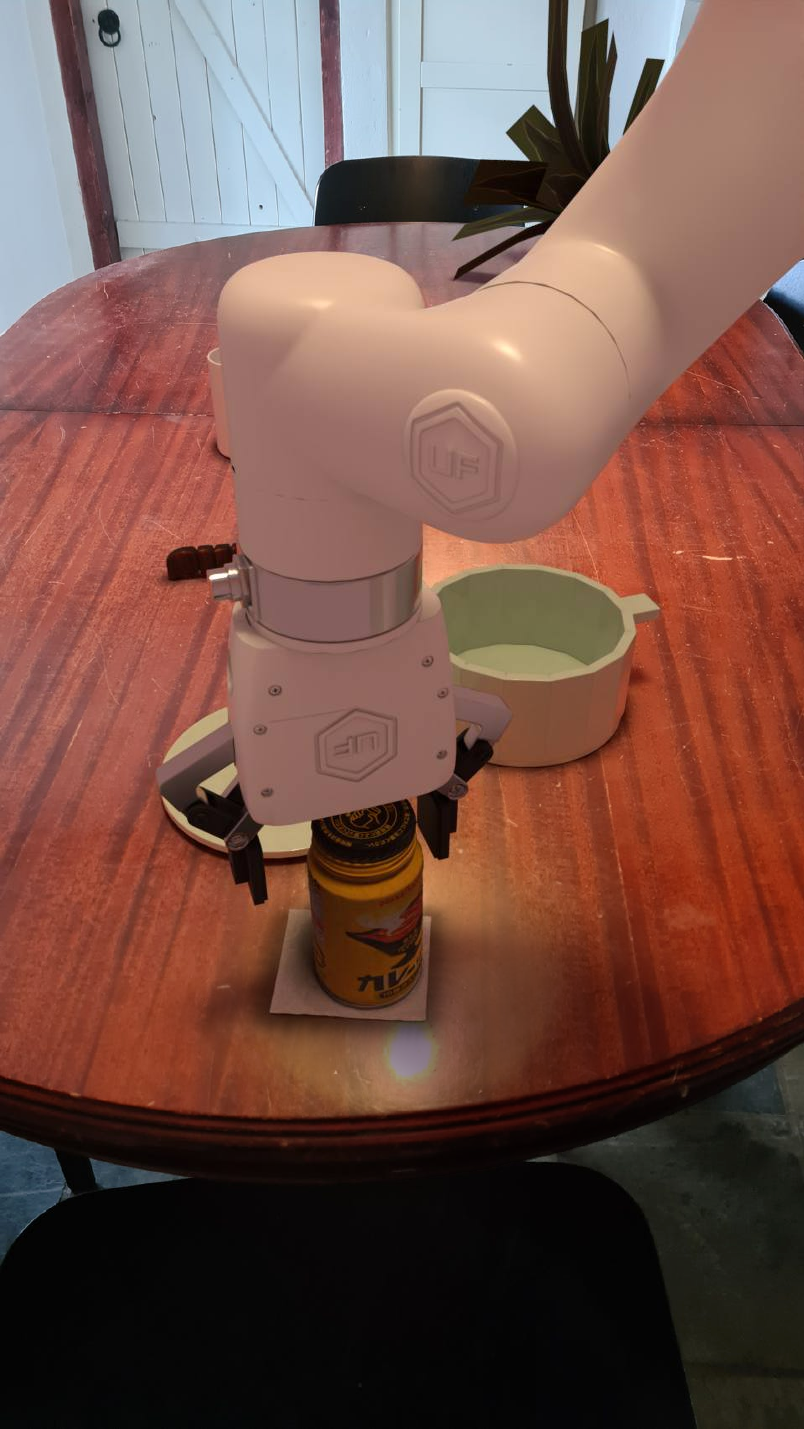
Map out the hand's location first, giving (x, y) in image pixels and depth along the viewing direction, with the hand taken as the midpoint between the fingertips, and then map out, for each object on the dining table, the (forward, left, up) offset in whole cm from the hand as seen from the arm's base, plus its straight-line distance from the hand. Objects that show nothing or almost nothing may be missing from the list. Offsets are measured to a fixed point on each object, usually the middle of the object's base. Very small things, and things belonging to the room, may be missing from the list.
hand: (345, 862), depth 54 cm
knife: (+46, -5, -8) cm, 47 cm away
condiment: (0, 0, -8) cm, 8 cm away
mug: (+76, -11, -8) cm, 77 cm away
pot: (+20, -19, -8) cm, 29 cm away
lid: (+17, 0, -7) cm, 19 cm away
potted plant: (+115, -70, -8) cm, 135 cm away
